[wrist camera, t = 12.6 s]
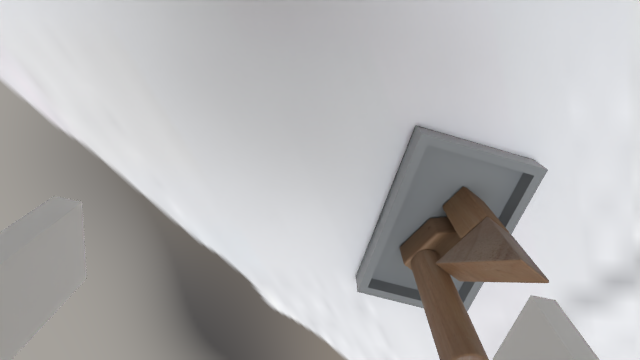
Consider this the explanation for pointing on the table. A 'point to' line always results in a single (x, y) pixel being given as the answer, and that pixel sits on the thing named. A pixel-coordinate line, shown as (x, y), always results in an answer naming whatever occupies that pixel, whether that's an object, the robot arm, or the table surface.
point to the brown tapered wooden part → (462, 268)
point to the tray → (441, 205)
